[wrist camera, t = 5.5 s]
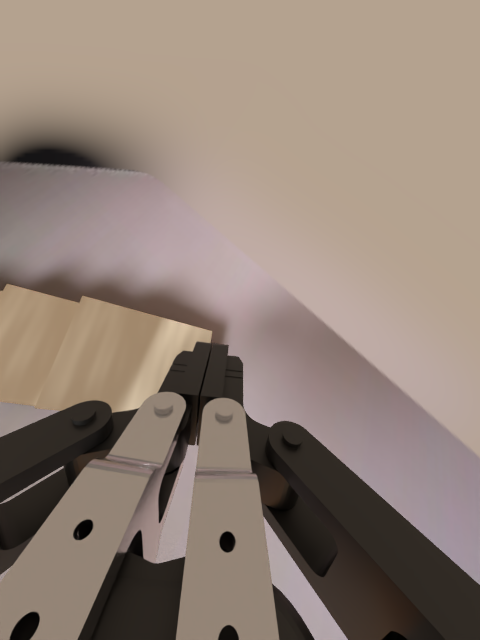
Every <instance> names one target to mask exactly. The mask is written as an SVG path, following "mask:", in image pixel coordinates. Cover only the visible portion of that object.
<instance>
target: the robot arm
mask: <svg viewBox="0 0 480 640" xmlns="http://www.w3.org/2000/svg"><path fill="white" fill-rule="evenodd" d="M228 346H229V345H224V344H215V343H213V347H212V343H206V342H198V341H197V342H196V344H195V347H194V349H193V352H192V351H182V352H181V353H180V354H178V355H177V356H176V357H175V359H174V361H173V363H172V365H171V367H170V369H169V371H168V373H167V375H166V377H165V379H164V381H163V383H162V385H161V387H160V389H159V391H158V393H156V394H154V395H152V396H150V397H148V398H147V399H146V400H145V401H144V402H143V403H142V405H141V406H140V408H137V409H133V410H127V411H120V412H113V413H112V409H111V407H110V405H109V404H108V403H106V402H103V401H99V400H91V401H85V402H81V403H78V404H76V405H73V406H71V407H69V408H66V409H64V410H62V411H60V412H57V413H55V414H53V415H50V416H48V417H46V418H44V419H41V420H39V421H37V422H35V423H32V424H30V425H28V426H25V427H23V428H21V429H19V430H16V431H14V432H12V433H9V434H7V435H5V436H3V437H0V503H1V502H3V501H4V500H6V499H7V498H9V497H11V496H12V495H14V494H16V493H18V492H19V491H21V490H23V489H24V488H26V487H28V486H29V485H31V484H33V483H34V482H36V481H38V480H40V479H41V478H43V477H45V476H46V475H48V474H50V473H51V472H53V471H55V470H56V469H58V468H60V467H62V466H64V468H63V469H61V470H60V471H58V472H56V473H55V474H53V475H51V476H50V477H48V478H46V479H45V480H43V481H41V482H40V483H38V484H36V485H35V486H33V487H31V488H30V489H28V490H26V491H25V492H23V493H21V494H20V495H18V496H16V497H15V498H13V499H11V500H10V501H8V502H5V503H3V504H0V574H2V573H3V572H4V571H6V570H7V569H8V568H10V567H11V566H12V565H13V566H12V567H11V568H10V570H9V571H8V572H7V574H6V575H5V577H4V578H3V579H2V581H1V582H0V640H314V638H313V636H312V634H311V633H310V631H309V629H308V628H307V626H306V624H305V623H304V621H303V619H302V618H301V616H300V615H299V613H298V612H297V611H296V609H295V608H294V606H293V605H292V604H291V602H290V601H289V600H288V599H287V598H286V597H285V596H284V595H283V593H282V592H281V591H280V590H279V589H277V588H276V587H275V586H274V585H273V584H272V580H271V573H270V565H269V558H268V550H267V542H266V535H265V527H264V519H263V516H264V517H265V519H266V520H267V522H268V523H269V525H270V526H271V528H272V529H273V531H274V532H275V534H276V535H277V536H278V538H279V539H280V541H281V542H282V544H283V545H284V547H285V548H286V550H287V551H288V553H289V554H290V555H291V557H292V558H293V560H294V561H295V563H296V564H297V566H298V567H299V569H300V570H301V572H302V573H303V574H304V576H305V577H306V579H307V580H308V582H309V583H310V585H311V586H312V588H313V589H314V591H315V592H316V593H317V595H318V596H319V598H320V599H321V601H322V602H323V604H324V605H325V607H326V608H327V610H328V611H329V612H330V614H331V615H332V617H333V618H334V620H335V621H336V623H337V624H338V626H339V627H340V629H341V630H342V631H343V633H344V634H345V636H346V637H347V639H348V640H480V585H479V584H478V583H477V582H476V581H474V580H473V579H472V578H471V577H470V576H469V575H468V574H467V573H466V572H464V571H463V570H462V569H461V568H460V567H459V566H458V565H457V564H455V563H454V562H453V561H452V560H451V559H450V558H449V557H448V556H447V555H445V554H444V553H443V552H442V551H441V550H440V549H439V548H438V547H436V546H435V545H434V544H433V543H432V542H431V541H430V540H429V539H428V538H426V537H425V536H424V535H423V534H422V533H421V532H420V531H419V530H417V529H416V528H415V527H414V526H413V525H412V524H411V523H410V522H409V521H407V520H406V519H405V518H404V517H403V516H402V515H401V514H400V513H398V512H397V511H396V510H395V509H394V508H393V507H392V506H391V505H390V504H388V503H387V502H386V501H385V500H384V499H383V498H382V497H381V496H379V495H378V494H377V493H376V492H375V491H374V490H373V489H372V488H371V487H369V486H368V485H367V484H366V483H365V482H364V481H363V480H362V479H360V478H359V477H358V476H357V475H356V474H355V473H354V472H353V471H351V470H350V469H349V468H348V467H347V466H346V465H345V464H344V463H343V462H341V461H340V460H339V459H338V458H337V457H336V456H335V455H334V454H332V453H331V452H330V451H329V450H328V449H327V448H326V447H325V446H324V445H322V444H321V443H320V442H319V441H318V440H317V439H316V438H315V437H313V436H312V435H311V434H310V433H309V432H308V431H307V430H306V429H304V428H303V427H302V426H300V425H298V424H296V423H293V422H289V421H281V422H277V423H275V424H274V425H273V426H272V427H271V428H270V427H267V426H265V425H262V424H260V423H258V422H256V421H254V420H253V419H251V418H250V417H249V416H248V415H247V413H246V412H245V410H244V407H243V363H242V361H241V360H240V358H239V357H236V356H227V354H228ZM197 433H198V434H197ZM196 437H197V445H198V446H199V449H198V457H197V466H196V472H195V479H194V487H193V496H192V504H191V513H190V522H189V530H188V539H187V548H186V556H185V557H182V558H179V559H175V560H171V561H167V562H163V563H158V564H156V563H155V561H156V557H157V553H158V548H159V543H160V537H161V533H162V529H163V526H164V523H165V520H166V517H167V514H168V511H169V507H170V504H171V501H172V498H173V495H174V492H175V489H176V486H177V483H178V480H179V477H180V474H181V471H182V468H183V460H184V458H185V455H186V451H187V447H188V445H195V442H196Z"/></svg>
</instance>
